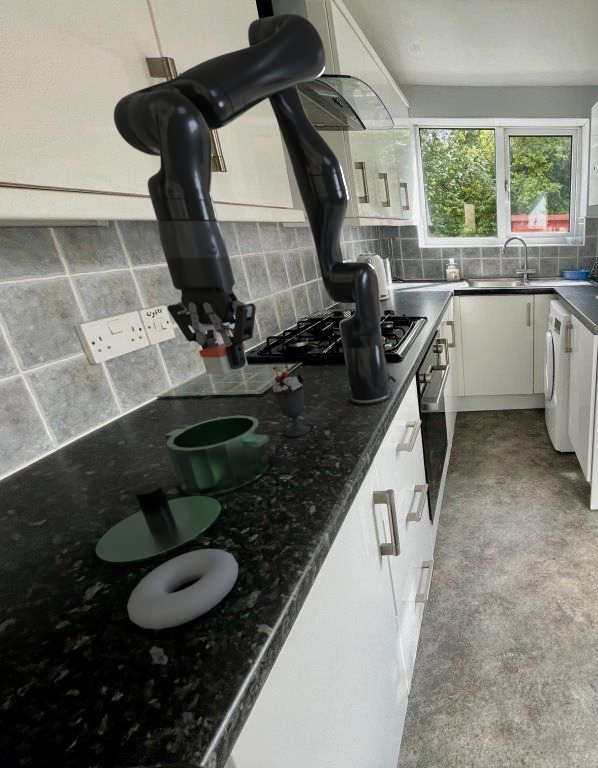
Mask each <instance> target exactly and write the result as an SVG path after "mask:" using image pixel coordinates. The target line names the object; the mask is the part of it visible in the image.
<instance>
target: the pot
mask: <svg viewBox="0 0 598 768" xmlns="http://www.w3.org/2000/svg"><path fill="white" fill-rule="evenodd" d="M164 437H165V439H166V449H167V451H168V454H169V456H170V460H171V462H172V466H173V468H174V471H175V474H176V476H177V479H178V482H179V485H180V488H181V489H182V491H183V492H184V493H185V495H188V496H206V497H215V496H220V495H224V494H225V495H226V494H229V493H232V492H235V491H237V490H240V489H242V488H244V487H247V486H249V485H251V484H252V483H255V482H256V481H258V480H259V479H261V478H262V477H263V476H264V475H265V474H266V473H267V471H268V470H269V468H270V461H269V457H268V454H267V450H266V446H265V444H266V443H268V442H269V441H270V438H269V435H268V434H267V435H266V434H262V431H261V426H260V423H259V419H258V418H256V417H254V416H249V415H231V416H230V415H229V416H221V417H217V418H212V419H208V420H204V421H200V422H198V423H195V424H191V425H189V426H187V427H184V428H176V429H174V430H172V431H169V432H168V433H166V434H164Z"/></svg>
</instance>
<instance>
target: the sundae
mask: <svg viewBox="0 0 598 768" xmlns="http://www.w3.org/2000/svg"><path fill="white" fill-rule="evenodd" d="M272 369H273V370H275V372H276V377H274V380H275V382H274V383H273V385H272V387H270V388H269V393H270V394H271V395H274V396H275V398H276V401H277V404H278V405H279V408H280V411H281V412H282V414H283V415H285V416H286V417H288V418H291V420H292V427H291V428H289V429H287V430H286V431H285V433H284V435H285V436H287V437H288V438H289V437H290V438H295V437H300V436H303V435H306V434H308V433H310V431H311V429H312V428H311V427H310V426H308V425H301V423H300V419H299V416H300V415H301V414H302V413H303V411H304V410H305V398H304V397H305V396H304V388H305V387H306V385H307V383H305V382H304V381H305V379H304V376H303V375H302V373H299V374H298V375H297V376H296V375H294V374H292V373H288V372H287V371H282V370H280V369H279V368H278V367H277V366H274V367H272ZM278 371H279V372H281V375H279V372H278Z"/></svg>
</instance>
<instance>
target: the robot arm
mask: <svg viewBox="0 0 598 768" xmlns="http://www.w3.org/2000/svg"><path fill="white" fill-rule="evenodd" d="M247 40H248V46H247V47H245V48H241V49H238V50H234V51H230V52H228V53H224V54H221V55H218V56H215V57H212V58H209V59H206V60H204V61H202V62H200V63H198V64H196V65H194V66H191V67H190V68H188V69H186V70H185V71H183V72H181V73H180V74H179V75H177V76H175V77H173V78H171V79H168V80H166V81H162V82H159V83H156V84H154V85H151V86H146V87H145V88H141V89H139V90H136V91H133V92H131V93H129V94H126V95H125V96H123V97H122V98H120V99H119V100H118V101H117V103H116V105H115V107H114V109H113V121H114V125H115V128H116V130H117V132H118V134H119V135H120V136H121V138H122V139H123V140H124V141H125V142H126V143H127V144H128V145H129V146H130V147H132V148H133V149H135V150H137V151H138V152H140V153H143V154H145V155H149V156H153V157H159V160H160V168H159V170H158V171H157V172H156V173H155V174H153V175H151V176H150V177H149V178H148V180H147V190H148V195H149V199H150V201H151V205H152V208H153V212H154V216H155V218H156V221H157V222H156V223H157V226H158V236H159V241H160V244H161V248H162V251H163V255H164V258H165V262H166V265H167V268H168V271H169V275H170V278H171V282H172V285H173V287H174V289H176V290H178V291H180V292H181V297H180V301H179V302H178V303H174V304H169V305H168V306H167V311H168V312H169V314H170V315H171V318H172V319H173V320H174V322H175V323H176V325H177V326H178V328H179V330H180V331H181V333H182V334H183V336H184V337H185V339H186V340H187V341H188V342H191V343H192V342H195V343H197V345H198V346H201V350H203V349H206V348H210V347H213V346H217V345H220V343H219V342H217V340H218V339H217V333H219V334H220V337H221V339H222V341H223V343H225V345H226V347H225V349H226V351H227V356H228V360H229V364H230V367H231V368H232V369H238V368H240V369H242V368H241V367H243V368H245V367H244V366H245V363H246V359H247V357H246V358H245V355H246V353H245V354H244V351H245V349H244V350H243V346H242V343H244V342H247V341H250V340H252V339H253V335H254V328H255V321H256V320H255V318H256V312H257V311H256V310H257V308H256V307H257V306H256V304H255V303H252V302H250V303H245V302H242V301H240V300H239V299H238V297H237V295H236V294H235V292H234V290H233V288H234V286H235V284H236V280H235V276H234V272H233V268H232V264H231V260H230V255H229V252H228V247H227V244H226V239H225V236H224V233H223V231H222V228H221V226H220V223H219V219H218V218H219V217H218V214H217V211H216V208H215V207H216V206H215V202H214V199H213V195H212V191H211V190H212V178H213V176H212V175H213V173H212V171H213V143H212V136H211V132H210V131H215V130H219V129H222V128H224V127H226V126H228V125H229V124H231V123H232V122H234V121H235V120H237V119H238V118H240V117H241V116H243V115H244V114H245V113H247V112H248V111H250V110H251V109H253V108H254V107H255V106H257V105H259V104H260V103H262V102H264V101H265V100H267V99H268V101H269V104H270V106H271V109H272V111H273V114H274V116H275V119H276V122H277V125H278V128H279V131H280V134H281V138H282V140H283V142H284V146H285V149H286V152H287V155H288V158H289V161H290V165H291V169H292V173H293V176H294V180H295V183H296V186H297V189H298V192H299V196H300V199H301V202H302V204H303V207H304V211H305V214H306V217H307V221H308V224H309V228H310V231H311V235H312V238H313V243H314V246H315V253H316V257H317V261H318V266H319V271H320V275H321V276H320V277H321V280H322V284H323V287H324V289H325V292H326V294H327V297H329V298H330V299H331V300H332V301H333V302H335V303H338V304H354V305H355V306H354V308H355V311H354V314H352V315H351V316H349V317H345V318H344V319H342V320H340V322H339V323H338V324H339V327H338V328H339V332H340V338H341V339H340V340H341V345H342V350H343V356H344V357H343V358H344V362H345V369H346V374H347V380H348V383H347V388H348V389H349V392H350V401H351V402H352V403H354V404H356V405H372V404H373V405H374V404H378V403H380V402H381V403H382V402H383V401H386V400H387V399H389V398H390V397H391V388H390V382H391V381H392V382H393V383H396V382H397V379H396V378H395V377H393V376H392V375H390V372H389V371H388V367H387V359H386V357H385V350H384V349H385V348H384V343H383V337H382V336H383V335H382V328H381V322H382V321H381V319H382V309H381V299H380V298H381V297H380V285H379V278H378V275H377V272H376V270H375V268H374V267H373V265H372V264H370V263H369V262H364V261H345V259H344V256H343V252H342V247H341V231H342V228H343V224H344V221H345V217H346V214H347V211H348V205H349V193H348V188H347V185H346V184H347V183H346V180H345V175H344V172H343V168H342V165H341V162H340V160H339V158H338V156H337V155H336V154H335V152H334V151H333V149H332V148H331V147H330V145H329V144H328V142H327V141H326V140H325V139H324V137H323V136H322V135H321V134H320V132H319V131H318V130H317V128H316V126H314V124H313V123H312V121H311V120H310V118H309V116H308V114H307V112H306V110H305V108H304V104H303V101H302V99H301V96H300V92H299V89H298V85H297V84H299V83H305V82H306V83H307V82H312V81H314V80H317V79H318V78H320V77H321V76H322V75H323V73H324V71H325V69H326V65H327V54H326V49H325V45H324V43H323V40H322V37H321V36H320V34H319V32H318V30H317V29H316V27H315V25H313V23H312V22H310V20H308V19H307V18H305V17H304V16H302V15H299V14H296V13H283V14H277V15H271V16H267V17H261V18H258V19H255V20H252V21H251V22H250V24H249V26H248V29H247ZM190 327H191V328H192V330H193V331H194V332H193V331H192V330H191V328H190ZM231 335H232V336H231ZM238 370H239V369H238Z"/></svg>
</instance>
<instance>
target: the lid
mask: <svg viewBox="0 0 598 768" xmlns="http://www.w3.org/2000/svg"><path fill="white" fill-rule="evenodd" d="M134 495H135V498H136V501H137V503H138V505H139V507H140V510H139V511H137V512H135V513H132V514H131V515H129V516H127V517H126V518H123V519H122V520H120V521H119V522H117V523H116V524H114V525H113V526H112V527H110V528H109V530H108V531H106V532H105V533H104V534H103V535H102V536H101V537H100V539H99V540H98V542H97V543H96V546H95V555H96V556H97V558H98V559H99V561H101V562H103V563H105V564H110V565H130V564H136V563H140V562H144V561H149V560H153V559H156V558H159V557H161V556H165V555H166V554H169V553H172V552H174V551H176V550H178V549H181V548H182V547H184V546H186V545H188V544H190V543H192V542H193V541H195V540H197V539H199V538H200V537H201V536H202V535H204V534H205V533H207V532H208V531H209V530H210V529H211V528H212V527H213V526H214V525H215V524H216V523H217V521H218V520H219V518H220V517H221V513H222V505H221V504H220V502H219V501H218V500H217V499H215V498H213V497H212V496H207V497H206V496H191V495H189V496H184V497H179V498H173V499H169V500H168V498H167V494H166V493H165V489H164V487H163V484H162V483H160V482H152V483H148V484H145V485H142V486H141V487H139V488H137V489H136V490H135V491H134Z"/></svg>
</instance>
